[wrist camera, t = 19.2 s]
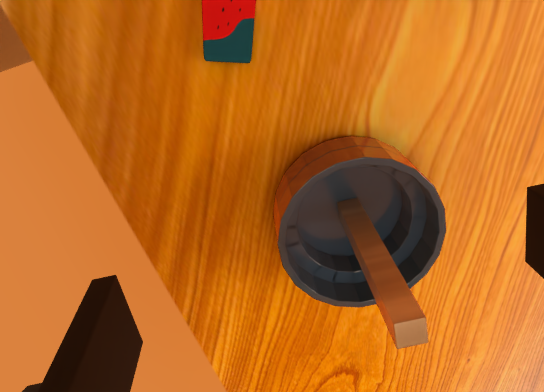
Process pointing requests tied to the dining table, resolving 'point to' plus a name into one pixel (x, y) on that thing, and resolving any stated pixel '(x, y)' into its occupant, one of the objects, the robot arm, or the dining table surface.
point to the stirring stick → (383, 277)
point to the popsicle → (228, 30)
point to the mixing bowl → (377, 204)
